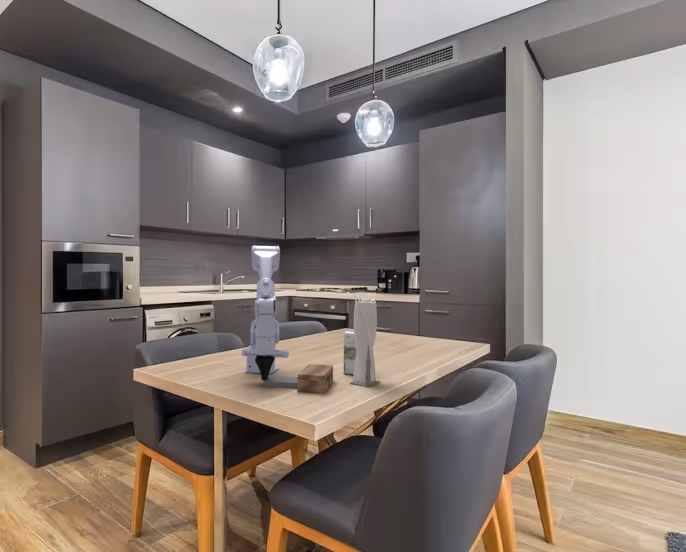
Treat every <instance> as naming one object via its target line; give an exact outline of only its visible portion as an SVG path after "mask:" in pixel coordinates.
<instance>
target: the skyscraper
mask: <svg viewBox="0 0 686 552" xmlns="http://www.w3.org/2000/svg"><path fill="white" fill-rule="evenodd" d="M354 298H355V299H354V301H355V302H354V310H353V311H354V312H353V331H354V338H355V344H356V349H357V351H356V358H355V367H354V375H353V378H352V381H350V382H349V385H353V386H360V387H363V386H364V387H365V388H369V387H370V388H372V387H374V386H376V385H378V384H380V383H381V381H380V380H377V378H376V365H375V354H374V345H375V341H376V336H377V328H378V327H377V326H378V314H377V313H378V312H377V311H378V310H377V302H376V300H375V299H373V298H372V299H370V298H361V299H360V296H359V295H358V293H356V294H354ZM357 300H358V301H357ZM371 386H372V387H371ZM364 387H363V388H364Z"/></svg>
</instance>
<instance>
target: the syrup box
mask: <svg viewBox="0 0 686 552" xmlns="http://www.w3.org/2000/svg"><path fill="white" fill-rule="evenodd" d="M356 351H357V349H356V344H355V338H354V330H346V331H345V332H343V375H349V376H354V367H355V358H356Z"/></svg>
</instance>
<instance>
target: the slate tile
mask: <svg viewBox="0 0 686 552" xmlns="http://www.w3.org/2000/svg"><path fill="white" fill-rule="evenodd" d="M264 387H265V388H279V389H280V388H281V389H282V388H283V389H284V388H285V389H298V376H287V375H269V376H268V378H267V379H266V380H265V381H263V388H264Z"/></svg>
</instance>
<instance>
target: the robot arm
mask: <svg viewBox="0 0 686 552" xmlns="http://www.w3.org/2000/svg"><path fill="white" fill-rule="evenodd" d="M280 250H281V249H280V246H279V245H273V246H272V245H270V246H269V245H255V244H254V245H252V246H251V267H252V270H253V271H255V272H257V274H258V278H259V280H258V281H257V282H256V299H255V301H254V315H255V319H254V320H252V322H251V323H250V325H251V326H250V344H251V345H248V347H247V348H244V349H242V350H241V357H246V370H245V372H246V373H253V374H260V377H261V381H263V382H264V381H265V380H266V379H267V378H269V377H270V374H273V373H274V372H276V371H277V370H278V369H280V368H279V366H276V358H283V359H288V358H289V355H290V354H289V350H282V349H276V346H277V345H278V344H279V343H280V324H279V322H278V320H277V319H276V315H277V298H276V291H275V289H276V288H275V287H276V286H275V282H274V281H273V280H272V277H273V274H274V273H275V272H276V271H279V267H280V260H281V258H280V257H281V253H280V252H281V251H280Z"/></svg>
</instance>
